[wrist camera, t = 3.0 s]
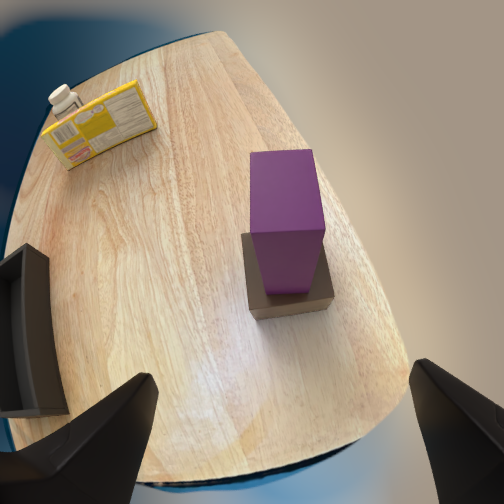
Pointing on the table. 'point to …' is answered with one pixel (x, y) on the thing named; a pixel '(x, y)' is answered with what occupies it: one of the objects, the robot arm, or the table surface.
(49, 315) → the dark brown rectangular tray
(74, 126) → the candy box
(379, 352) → the table surface
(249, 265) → the walnut block
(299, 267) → the purple block
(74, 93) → the pill bottle
